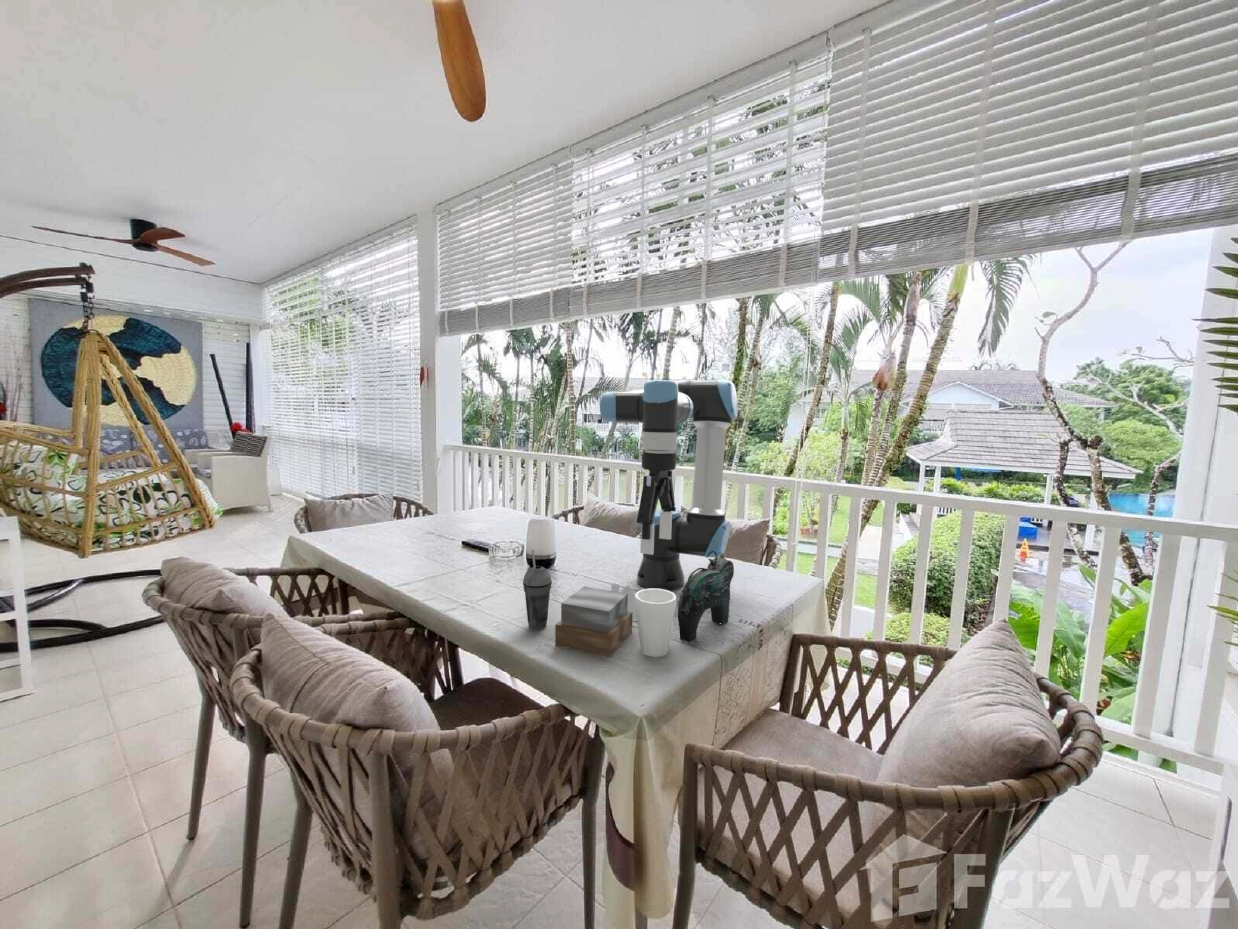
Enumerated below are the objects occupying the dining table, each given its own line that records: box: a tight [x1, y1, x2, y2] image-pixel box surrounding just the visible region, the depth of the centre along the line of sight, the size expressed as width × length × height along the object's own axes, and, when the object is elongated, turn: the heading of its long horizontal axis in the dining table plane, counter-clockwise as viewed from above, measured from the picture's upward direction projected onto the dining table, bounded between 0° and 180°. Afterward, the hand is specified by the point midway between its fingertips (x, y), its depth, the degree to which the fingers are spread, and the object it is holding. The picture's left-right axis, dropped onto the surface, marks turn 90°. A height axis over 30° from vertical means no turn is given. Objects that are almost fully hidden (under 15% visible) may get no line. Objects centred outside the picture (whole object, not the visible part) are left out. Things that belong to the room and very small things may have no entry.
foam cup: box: [634, 588, 678, 658], centre depth 114 cm, size 10×9×13 cm
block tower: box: [554, 586, 633, 658], centre depth 120 cm, size 14×14×10 cm
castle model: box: [610, 583, 638, 628], centre depth 136 cm, size 15×15×7 cm
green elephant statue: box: [677, 550, 735, 643], centre depth 125 cm, size 20×6×20 cm, turn 136°
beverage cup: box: [522, 549, 553, 631], centre depth 125 cm, size 7×7×20 cm
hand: (656, 545), depth 112 cm, fingers open, 13 cm apart
